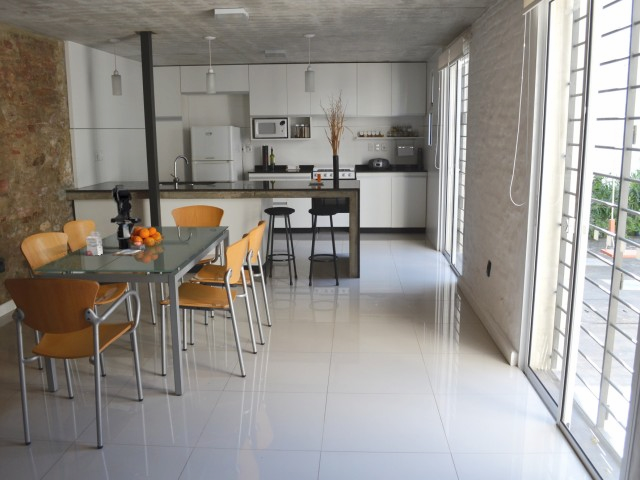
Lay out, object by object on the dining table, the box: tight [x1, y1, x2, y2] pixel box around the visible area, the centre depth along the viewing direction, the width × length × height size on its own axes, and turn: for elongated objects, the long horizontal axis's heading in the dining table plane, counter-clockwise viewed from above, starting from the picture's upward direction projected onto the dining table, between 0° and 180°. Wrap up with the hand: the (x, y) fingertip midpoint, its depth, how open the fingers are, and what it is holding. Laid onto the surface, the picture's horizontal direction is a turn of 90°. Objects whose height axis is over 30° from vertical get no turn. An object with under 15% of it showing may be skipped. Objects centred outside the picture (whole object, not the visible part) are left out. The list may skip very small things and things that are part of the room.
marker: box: [123, 223, 130, 238], centre depth 384 cm, size 4×4×8 cm
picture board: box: [112, 249, 145, 257], centre depth 387 cm, size 14×14×1 cm
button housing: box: [130, 244, 146, 251], centre depth 398 cm, size 6×6×3 cm
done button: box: [133, 241, 142, 246], centre depth 397 cm, size 4×4×3 cm
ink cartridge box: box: [85, 230, 104, 256], centre depth 385 cm, size 9×5×15 cm, turn 71°
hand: (126, 233), depth 385 cm, fingers closed on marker, 4 cm apart
